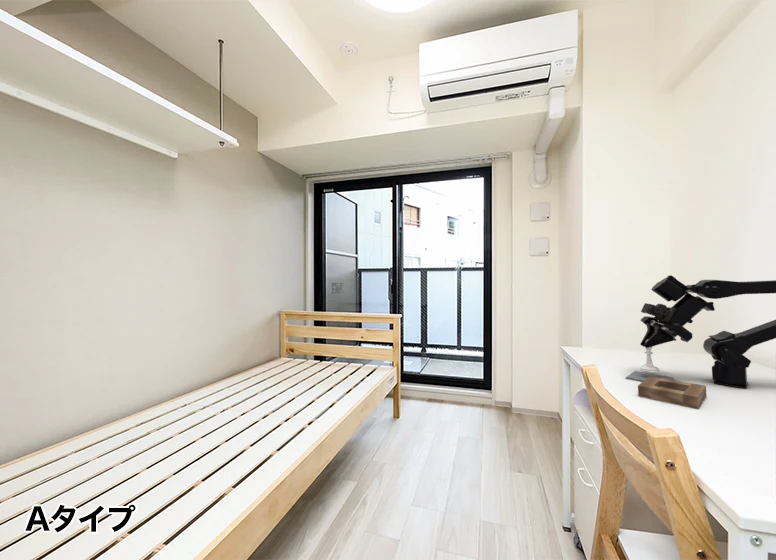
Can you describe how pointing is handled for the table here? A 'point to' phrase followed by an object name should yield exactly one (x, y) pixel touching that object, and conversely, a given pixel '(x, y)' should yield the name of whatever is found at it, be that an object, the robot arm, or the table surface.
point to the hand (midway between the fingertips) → (643, 346)
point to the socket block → (673, 391)
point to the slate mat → (645, 376)
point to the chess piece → (649, 362)
